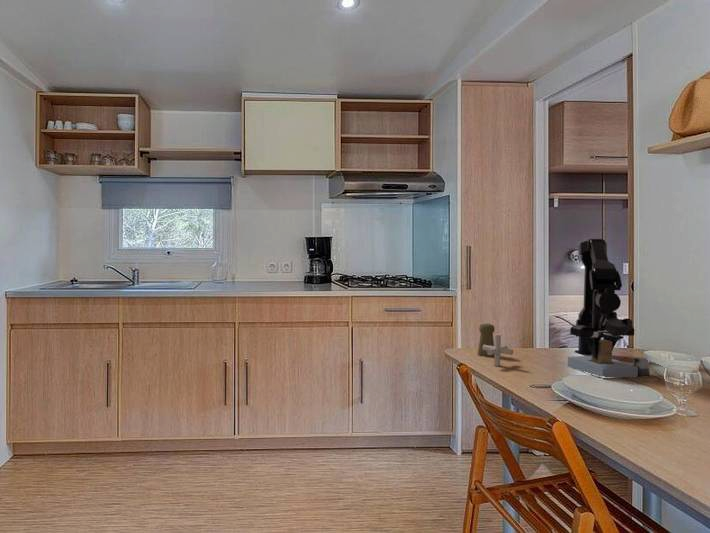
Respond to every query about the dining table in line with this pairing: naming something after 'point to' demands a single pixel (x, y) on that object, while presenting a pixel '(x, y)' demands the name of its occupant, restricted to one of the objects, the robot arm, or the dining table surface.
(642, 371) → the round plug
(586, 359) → the bore block
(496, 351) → the pipe connector
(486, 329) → the dark green pepper mill
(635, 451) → the dining table surface
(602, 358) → the square peg
